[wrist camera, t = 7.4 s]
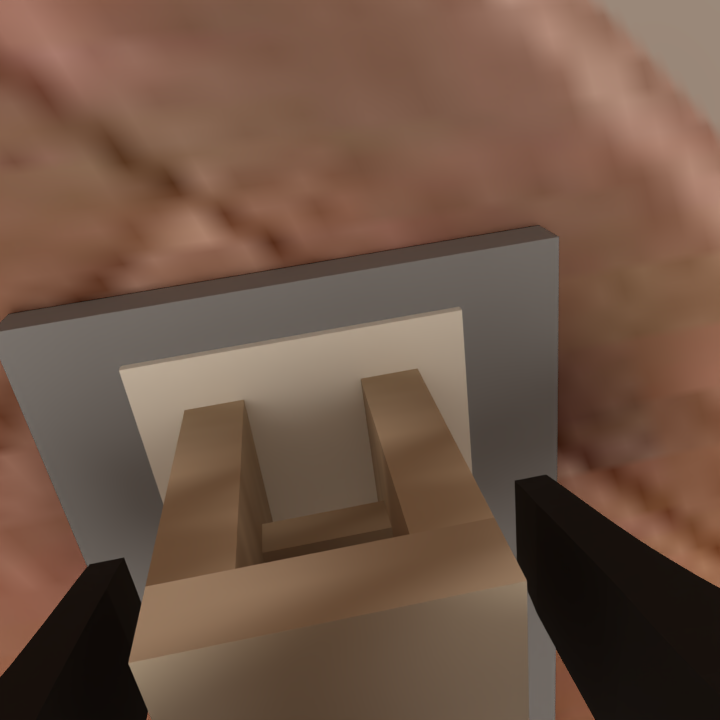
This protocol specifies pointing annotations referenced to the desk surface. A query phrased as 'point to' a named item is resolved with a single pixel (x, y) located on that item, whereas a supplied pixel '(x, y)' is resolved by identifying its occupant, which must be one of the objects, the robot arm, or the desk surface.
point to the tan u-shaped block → (332, 584)
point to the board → (298, 385)
